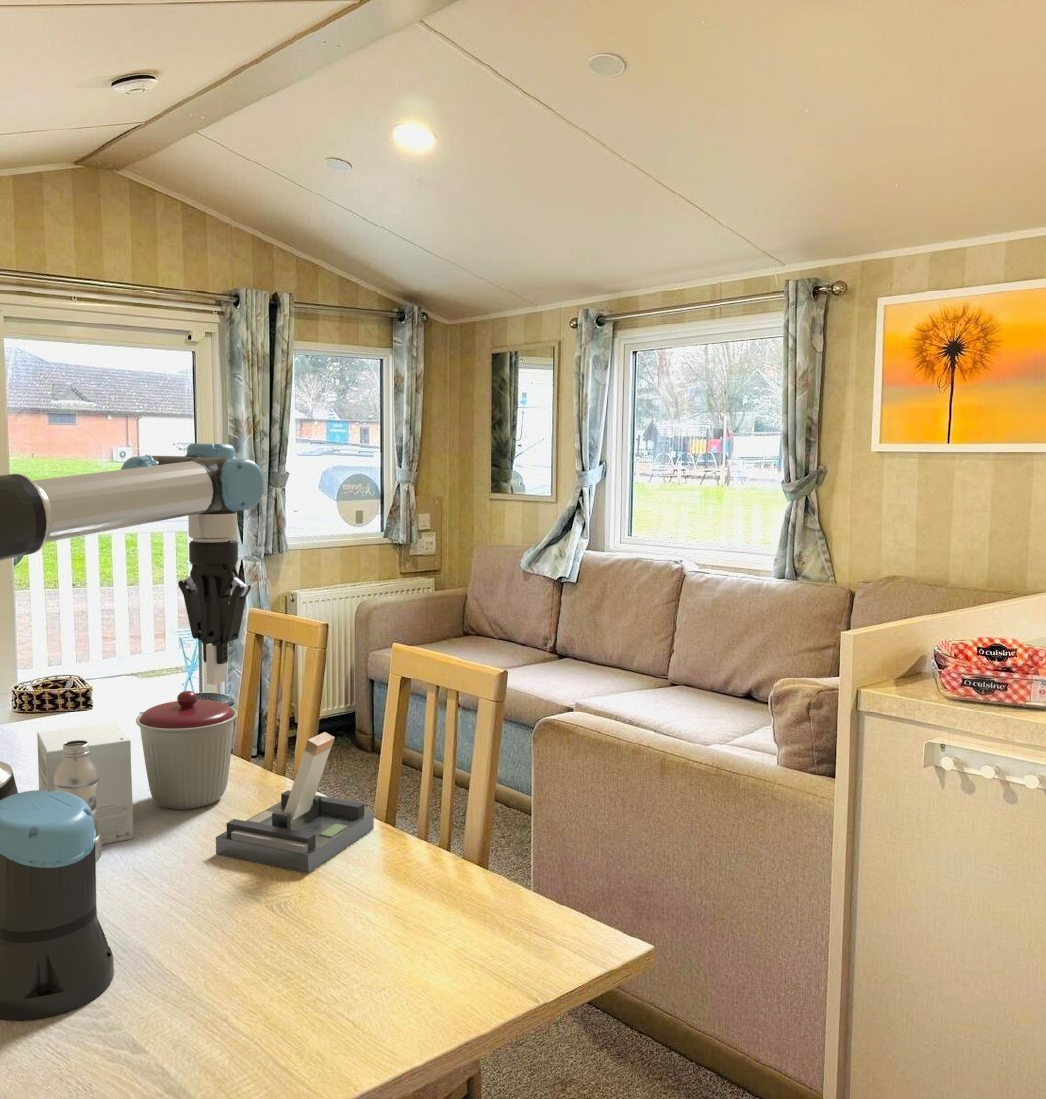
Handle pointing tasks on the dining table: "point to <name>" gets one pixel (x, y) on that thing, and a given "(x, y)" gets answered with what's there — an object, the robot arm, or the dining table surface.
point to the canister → (187, 750)
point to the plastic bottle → (80, 779)
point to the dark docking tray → (287, 837)
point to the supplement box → (113, 768)
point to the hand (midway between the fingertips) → (216, 682)
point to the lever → (309, 775)
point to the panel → (327, 828)
